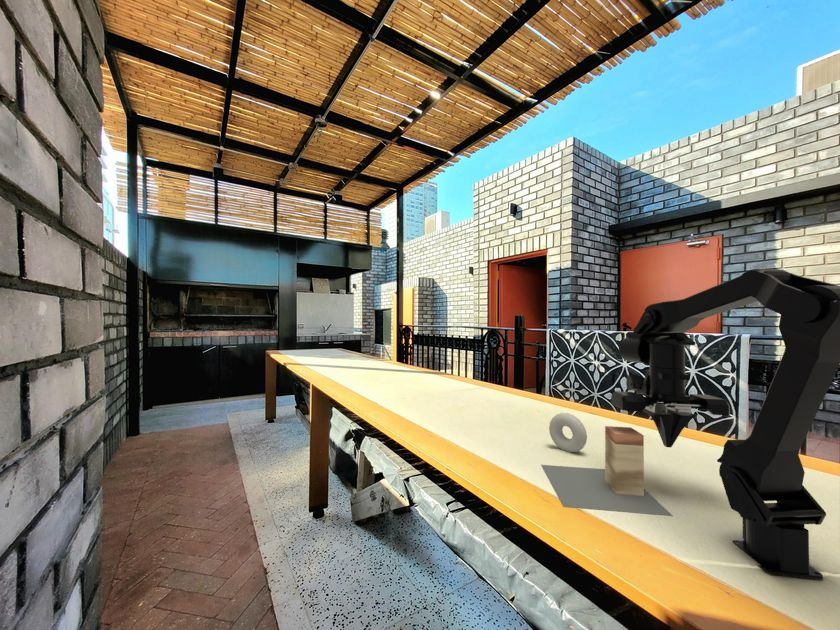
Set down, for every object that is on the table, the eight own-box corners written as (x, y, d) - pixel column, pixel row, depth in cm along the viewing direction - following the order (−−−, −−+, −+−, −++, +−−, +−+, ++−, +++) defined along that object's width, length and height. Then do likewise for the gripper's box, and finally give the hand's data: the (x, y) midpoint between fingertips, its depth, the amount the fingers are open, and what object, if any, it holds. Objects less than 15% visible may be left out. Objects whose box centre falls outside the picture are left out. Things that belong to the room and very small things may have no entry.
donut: (546, 447, 90) (546, 409, 90) (553, 444, 92) (553, 408, 92) (582, 459, 82) (582, 418, 82) (589, 456, 84) (589, 416, 84)
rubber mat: (673, 519, 57) (673, 516, 57) (563, 509, 60) (563, 506, 60) (624, 472, 75) (624, 470, 75) (540, 466, 77) (540, 464, 77)
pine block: (643, 495, 64) (643, 435, 64) (615, 493, 64) (615, 433, 65) (631, 483, 69) (630, 427, 69) (605, 481, 69) (605, 426, 70)
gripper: (691, 364, 73) (692, 436, 72) (600, 361, 75) (600, 431, 75) (731, 370, 62) (732, 455, 61) (623, 367, 64) (624, 449, 64)
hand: (667, 446), depth 66 cm, fingers closed
